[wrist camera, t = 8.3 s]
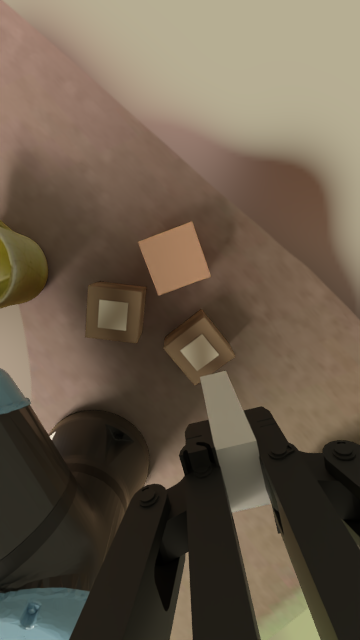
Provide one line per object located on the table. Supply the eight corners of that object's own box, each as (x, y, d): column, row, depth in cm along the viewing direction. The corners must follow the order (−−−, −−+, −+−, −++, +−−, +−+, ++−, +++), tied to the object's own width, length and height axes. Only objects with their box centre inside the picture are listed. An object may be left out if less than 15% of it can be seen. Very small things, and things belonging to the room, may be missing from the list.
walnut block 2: (193, 369, 41) (195, 386, 36) (165, 336, 40) (163, 348, 35) (229, 343, 41) (235, 356, 36) (201, 308, 40) (204, 317, 35)
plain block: (161, 288, 39) (158, 295, 33) (144, 243, 38) (137, 241, 32) (206, 272, 38) (210, 276, 33) (190, 225, 37) (192, 221, 31)
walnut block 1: (96, 326, 40) (84, 337, 35) (99, 281, 39) (87, 285, 34) (142, 332, 40) (136, 343, 35) (146, 286, 39) (141, 292, 34)
